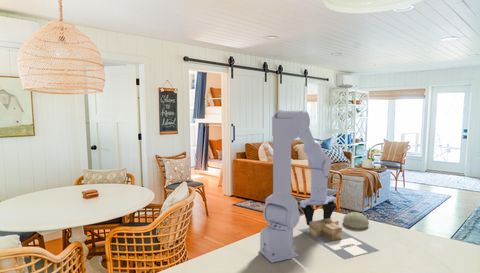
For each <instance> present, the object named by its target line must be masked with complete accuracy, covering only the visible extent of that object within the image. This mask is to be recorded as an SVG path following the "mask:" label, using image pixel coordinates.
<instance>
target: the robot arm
mask: <svg viewBox="0 0 480 273" xmlns="http://www.w3.org/2000/svg"><path fill="white" fill-rule="evenodd" d="M310 125H311V117H310V114H309V113H308V111H307V110H304V109H302V110H282V109H278V110H276V111H275V113H274V115H273V116H272V117H271V134H272V136H271V137H272V139H273V140H272V194H270V195H269V196H267V197H266V198H265V200H264V201H265V202H264V206H263V212H262V213H263V218H264V220H265V221H266V224H267V226H265V227H263V228H261V230H260V235H259V237H260V239H259V240H260V241H259V242H260V243H259V244H260V245H259V247H260V248H259V249H258V252H259V253H260V254H261V255H263V257H265V258H266V259H267V260H268V262H270V263H277V262H281V261H286V260H290V259H295V258H294V257H299V254H298V253H297V252H295V250H293V249H294V248H293V244H294V243H293V242H294V239H293V238H294V228H296V226H297V225H298V224H299V221H300V218H301V217H300V216H301V213H300V211H299V205H300V208H301V211H302V212H303V214H304V217H305V221H306V225H307V226H309V222H310V221H314V218H313V217H314V213H315V211H316V209H315V208H314V207H313V206H318V205H321V206H322V211H323V218H322V219H327V218H332V214H333V212H334V211H335V209H336V208H337V204H336V203H337V197H335V196H328V179H329V178H328V177H329V175H330V170H331V167H332V159H331V157H330V156H328V155H326V154H325V152H324V150H323V148H322V146H321V144H320V142H319V141H318V140H316V139H315V138H314V137H313V134H312V132H311V129H310ZM298 138H299V140H300V141H301V143H302V144H303V149H302V150H303V152H304V154H305V155H306V157H307V164H308V168H309V169H310V170H311V173H310V175H311V176H310V177H311V178H310V197H309V198H306V199H303V200H300V204H299V203H298V200H297V199H296V198H295V197H294V196H293V195H292V143H293V141H294V140H295V139H298Z"/></svg>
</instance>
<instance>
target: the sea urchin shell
mask: <svg viewBox="0 0 480 273" xmlns="http://www.w3.org/2000/svg"><path fill="white" fill-rule="evenodd" d="M342 220H343V221H342V222H343V224H344V226H346V227H348V228H352V229H357V230H363V229H366V228H368V227H369V224H370V221H369V220H368V218H367V217H366V216H365V215H364V214H363V213H361V212H359V211H358V212H357V211H353V212H352V211H351V212H348V213H347V214H345V215H344V216H343V219H342Z"/></svg>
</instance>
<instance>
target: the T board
mask: <svg viewBox="0 0 480 273" xmlns="http://www.w3.org/2000/svg"><path fill="white" fill-rule="evenodd" d="M299 231H300V232H301V233H303V234H304V235H305V236H307V237H309V238H310V239H312V240H313V241H315V242H317V243H318V244H320V245H321V246H323V247H324V248H326V249H328V250H329V251H331V252H332V253H334V254H335V255H337V256H338V257H340V258H342V259H343V260H347V259H351V258H352V259H353V258H355V257H356V258H357V257H359V256H362V255H368V254H370V253H371V254H372V253H375V252H379V251H380V249H377V248H376V247H374V246H373V245H370V244H368V243H366V242H365V241H362V240H361V239H359V238H357V237H355V236H353V235H351V234H350V233H347V232H346V231H344V230H342V239H339V240H334V241H332V240H330V239H328V238H327V237H325V236H323V235H320V236H314V235H312V234H311V233H309V227H307V228H303V229H299Z"/></svg>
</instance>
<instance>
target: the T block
mask: <svg viewBox="0 0 480 273" xmlns="http://www.w3.org/2000/svg"><path fill="white" fill-rule="evenodd" d="M339 221H340V220H338V219H336V218H333V217H330V218H327V219H323V218H322V219H318V220H317V219H316V220H313V221H310V222H309V227H308V228H309V233H311V234H312V235H314V236H320V235H323V236H325V237H327V238H328V239H330V240H332V241H334V240H339V239H342V231H343V227H342V226H340V225H339V223H340V222H339Z"/></svg>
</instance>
